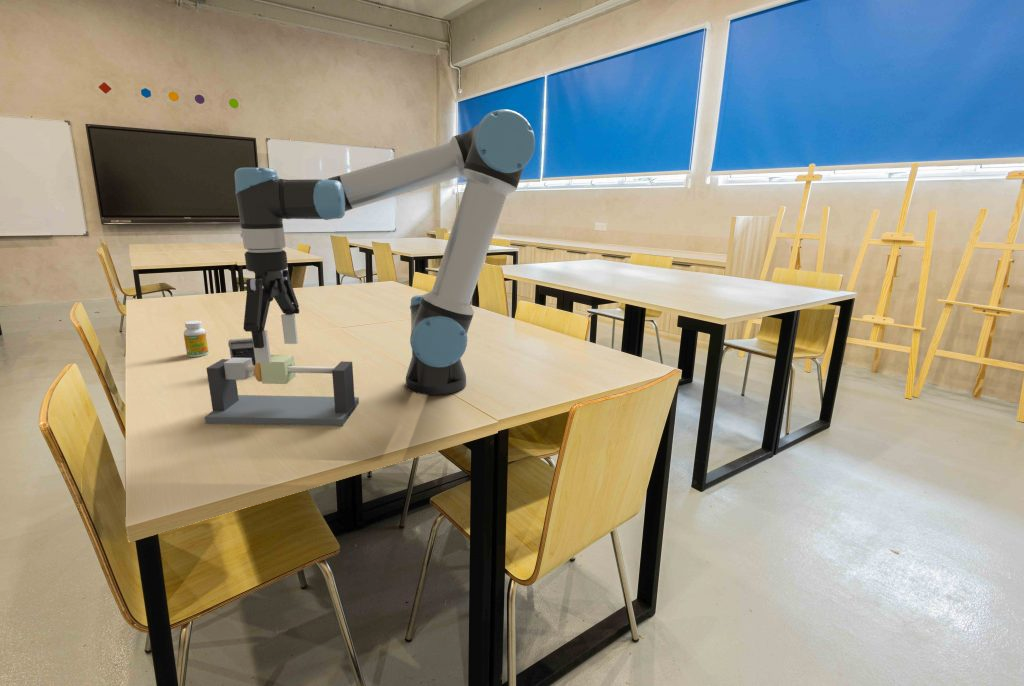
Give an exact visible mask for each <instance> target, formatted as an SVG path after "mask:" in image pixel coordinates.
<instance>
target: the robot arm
mask: <svg viewBox="0 0 1024 686" xmlns="http://www.w3.org/2000/svg"><path fill="white" fill-rule="evenodd" d="M535 147H536V137H535V133H534V130H533V127H532V126H531V124H530V123H529V121H528V120H527V118H526V117H524V116H523V115H522V114H521V113H518V112H517V111H515V110H512V109H504V108H503V109H496V110H493V111H491V112H489V113H487V114H485V115H484V116H483V117H482V118H481V119H480V121H479V122H478V124H476V125H475V126H473V128H471V129H469V130H467V131H465V132H463V133H460V134H457V135H453V136H452V137H451V139H450V140H449V142H447V143H443V144H440V145H437V146H434V147H430V148H427V149H423V150H419V151H417V152H413V153H410V154H407V155H403V156H399V157H396V158H392V159H390V160H387V161H383V162H379V163H376V164H373V165H369V166H367V167H363V168H361V169H359V168H358V169H356V170H353V171H350V172H346V173H343V174H340V175H336V176H332V177H329V178H326V179H325V178H321V179H320V178H319V179H305V178H304V179H286V178H284V179H283V178H279V176H278V173H277V170H276V169H274V168H270V167H239V168H237V169H236V170H235V172H234V185H235V192H234V193H235V197H236V202H237V209H238V216H239V221H240V228H241V233H240V238H242V244H243V248H244V250H247V251H245V253H244V260H245V267H246V270H247V271H249V272H253V273H254V278H246V280H245V283H246V297H245V298H246V299H245V308H244V316H243V318H244V319H243V331H245V332H246V333H247V332H251V338H252V340H253V347H254V354H255V361H256V363H270V362H271V356H270V355H271V350H270V342H269V335H268V330H266V329H265V328H266V323H267V318H268V314H269V311H270V310H269V309H270V305H271V304H270V303H271V302H272V301H273V300H275V302H276V303H277V305H278V307H279V309H280V311H281V312H282V313H283V314H281V316H280V317H281V326H282V335H283V341H284V342H283V343H284V345H294V344H295V345H297V344H299V339H298V330H297V328H298V327H297V321H296V314H297V315H299V314H300V309H299V308H300V306H299V303H298V300H297V297H296V294H295V290H294V287H293V285H292V283H291V280H290V274H289V270H288V267H289V266H288V257H287V256H288V255H287V252H286V251H285V250H284V249H285V248H286V244H287V243H286V237H285V230H284V224H283V220H292V219H293V220H324V221H328V220H337V219H338V220H339V219H342V218H344V217H345V213H346V212H348V211H350V210H353V209H356V208H360V207H365V206H367V205H371V204H374V203H376V202H380V201H383V200H384V201H385V200H386V199H390V198H394V197H396V196H400V195H405V194H408V193H410V192H413V191H417V190H420V189H423V188H427V187H431V186H433V185H436V184H441V183H443V182H447V181H450V180H454V179H458V178H461V179H463V180H465V181H466V184H465V187H464V190H463V193H462V197H461V200H460V203H459V206H458V209H457V212H456V215H455V218H454V222H453V224H452V227H451V231H450V233H449V237H448V240H447V243H446V246H445V249H444V253H443V255H442V259H441V261H440V265H439V268H438V272H437V274H436V276H435V277H436V278H435V281H434V284H433V286H432V289H431V290H430V291H429V292H428V291H427V293H425V294H420V295H419V294H418V295H414V296H412V297H411V299H410V306H409V309H410V327H411V329H410V337H409V339H410V343H409V344H410V348H411V359H410V362H409V365H408V368H407V372H406V374H405V375H406V376H405V386H406V389H407V390H409V391H410V392H413V393H416V394H420V395H427V396H429V395H430V396H437V395H438V396H439V395H450V394H453V393H457V392H459V391H461V390H463V389H464V388H465V387H466V385H467V375H466V371H465V368H464V365H463V362H462V359H461V358H462V357H463V356H464V354H465V353H466V351H467V350H466V349H467V346H468V331H469V329H470V327H471V323H472V320H473V318H474V314H475V311H474V309H473V307H472V305H471V301H472V298H473V295H474V293H475V289H476V288H477V287H476V286H477V283H478V281H479V277H480V276H481V272H482V269H483V266H484V263H485V260H486V257H487V254H488V251H489V248H490V245H491V243H492V240H493V237H494V234H495V231H496V228H497V224H498V222H499V219H500V216H501V213H502V210H503V207H504V205H505V201H506V198H507V196H508V195H509V194H512V193H513V192H515V191H517V188H518V186H519V182H520V180H521V177H522V174H523V171H524V168H525V167H526V166H527V165H528V164H529V162H530V161H531V159H532V158H533V155H534V152H535V149H536V148H535Z"/></svg>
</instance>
